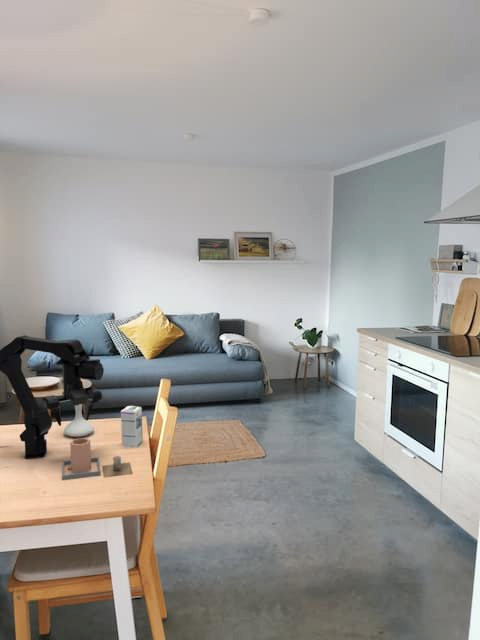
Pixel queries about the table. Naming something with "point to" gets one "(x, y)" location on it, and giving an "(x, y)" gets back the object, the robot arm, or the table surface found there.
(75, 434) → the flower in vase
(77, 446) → the ring tube
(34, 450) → the robot arm
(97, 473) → the charcoal tray
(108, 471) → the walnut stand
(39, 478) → the table surface
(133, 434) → the syrup box
